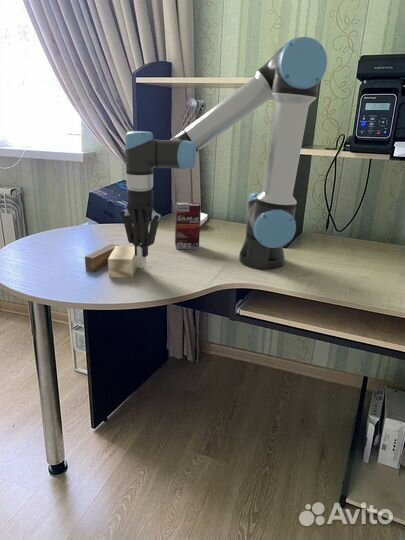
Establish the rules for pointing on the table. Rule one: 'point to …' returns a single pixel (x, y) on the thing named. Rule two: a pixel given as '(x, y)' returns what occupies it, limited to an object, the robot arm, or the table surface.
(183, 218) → the supplement box
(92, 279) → the table surface
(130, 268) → the oak block
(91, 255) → the walnut rail
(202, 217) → the white block
